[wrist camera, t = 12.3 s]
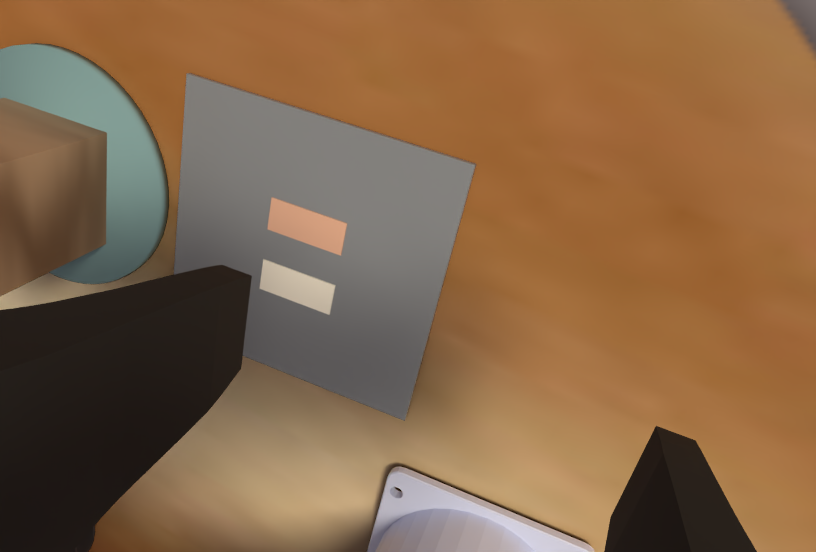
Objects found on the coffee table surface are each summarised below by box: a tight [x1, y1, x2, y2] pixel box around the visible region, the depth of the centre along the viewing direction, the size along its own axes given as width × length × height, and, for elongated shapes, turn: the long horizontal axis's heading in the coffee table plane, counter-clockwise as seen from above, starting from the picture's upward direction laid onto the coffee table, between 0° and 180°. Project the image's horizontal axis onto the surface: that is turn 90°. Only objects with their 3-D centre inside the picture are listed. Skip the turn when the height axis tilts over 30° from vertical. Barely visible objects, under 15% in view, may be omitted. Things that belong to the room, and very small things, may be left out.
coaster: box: [0, 43, 169, 284], centre depth 26 cm, size 9×9×1 cm
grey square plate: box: [174, 73, 476, 421], centre depth 24 cm, size 10×10×1 cm
